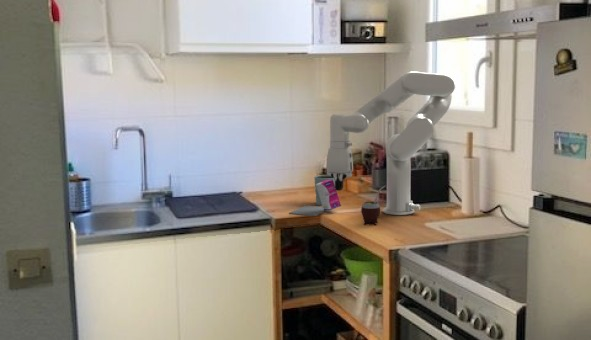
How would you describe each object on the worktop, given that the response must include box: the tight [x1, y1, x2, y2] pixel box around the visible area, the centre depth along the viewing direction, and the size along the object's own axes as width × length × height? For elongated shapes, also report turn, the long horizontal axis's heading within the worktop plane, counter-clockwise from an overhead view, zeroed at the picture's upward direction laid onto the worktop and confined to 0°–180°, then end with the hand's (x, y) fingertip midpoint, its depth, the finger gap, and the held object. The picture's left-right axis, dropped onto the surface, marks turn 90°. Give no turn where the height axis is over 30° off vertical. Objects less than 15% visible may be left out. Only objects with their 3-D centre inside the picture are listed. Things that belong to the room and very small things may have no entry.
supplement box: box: [315, 180, 342, 212], centre depth 265 cm, size 6×6×12 cm
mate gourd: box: [360, 184, 387, 226], centre depth 244 cm, size 8×8×15 cm
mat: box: [288, 205, 327, 217], centre depth 268 cm, size 12×15×1 cm
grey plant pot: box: [313, 174, 338, 207], centre depth 281 cm, size 10×10×12 cm
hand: (339, 189), depth 263 cm, fingers closed
